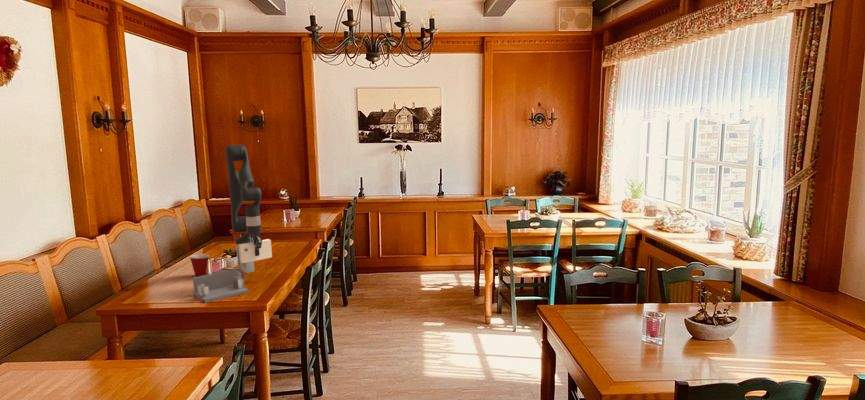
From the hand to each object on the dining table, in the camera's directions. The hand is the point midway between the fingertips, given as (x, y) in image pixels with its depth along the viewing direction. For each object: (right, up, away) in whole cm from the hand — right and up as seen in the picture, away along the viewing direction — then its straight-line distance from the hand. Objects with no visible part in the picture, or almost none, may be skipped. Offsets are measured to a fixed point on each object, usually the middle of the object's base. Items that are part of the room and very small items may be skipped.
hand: (255, 254), depth 286 cm
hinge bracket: (-12, -18, -17) cm, 28 cm away
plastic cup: (-38, -14, +19) cm, 45 cm away
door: (0, -3, 0) cm, 3 cm away
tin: (-14, -16, +3) cm, 22 cm away
